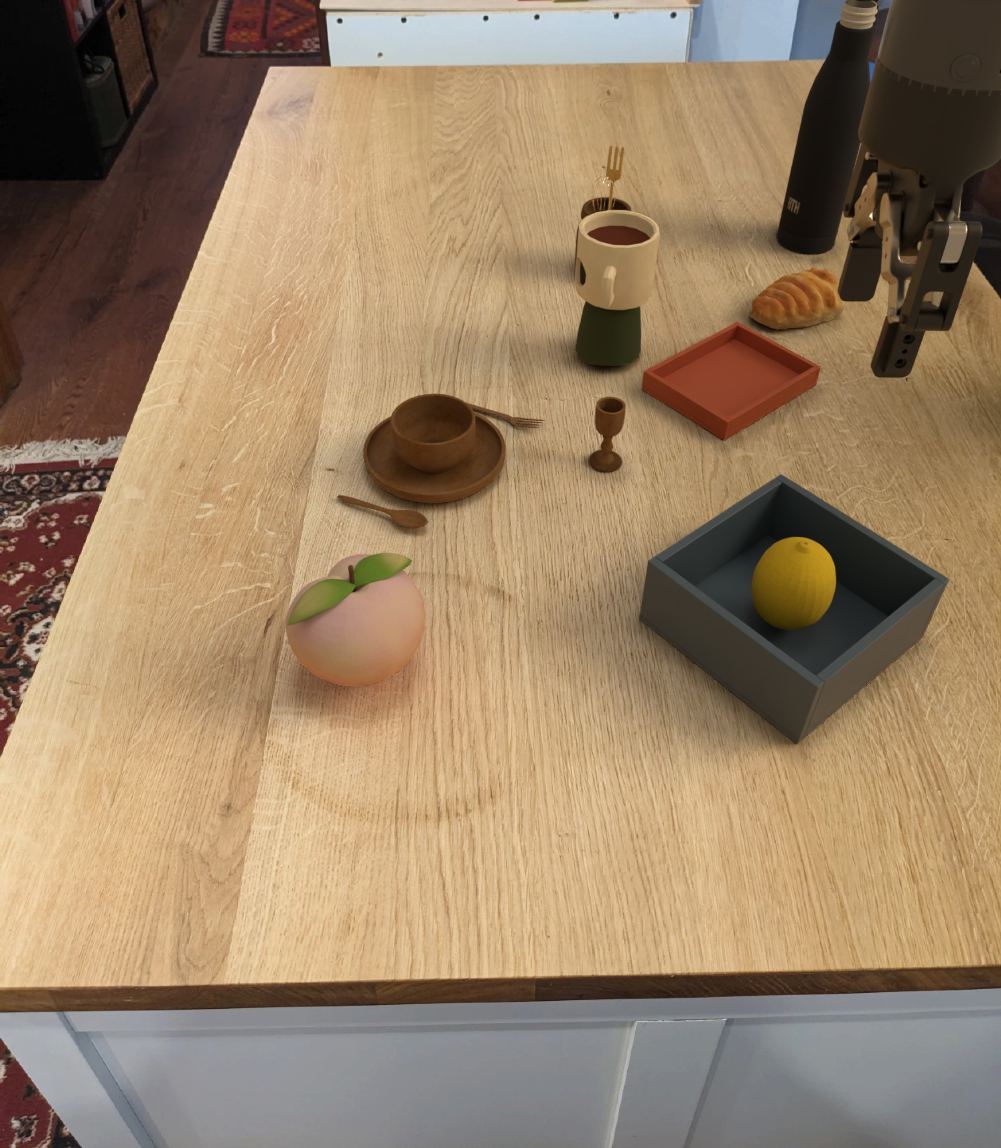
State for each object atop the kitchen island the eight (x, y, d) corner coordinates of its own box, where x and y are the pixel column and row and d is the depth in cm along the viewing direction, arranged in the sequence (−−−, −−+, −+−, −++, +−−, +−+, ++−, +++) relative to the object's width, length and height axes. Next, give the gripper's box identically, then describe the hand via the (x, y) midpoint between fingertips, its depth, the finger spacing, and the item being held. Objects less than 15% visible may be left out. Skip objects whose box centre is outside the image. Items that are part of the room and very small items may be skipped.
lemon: (814, 661, 71) (843, 581, 65) (735, 640, 72) (756, 560, 66) (825, 606, 74) (853, 526, 69) (749, 587, 76) (771, 507, 70)
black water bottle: (839, 233, 115) (919, -72, 94) (828, 259, 111) (908, -54, 89) (783, 222, 117) (848, -80, 95) (770, 247, 113) (835, -63, 91)
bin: (765, 531, 81) (780, 473, 76) (923, 636, 73) (950, 578, 69) (638, 618, 74) (647, 560, 70) (796, 744, 66) (818, 687, 62)
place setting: (428, 389, 94) (425, 334, 90) (629, 454, 87) (636, 397, 83) (319, 501, 83) (310, 444, 79) (539, 583, 76) (542, 526, 72)
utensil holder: (568, 280, 108) (574, 168, 99) (581, 251, 112) (588, 142, 103) (623, 288, 107) (634, 176, 98) (634, 259, 111) (646, 149, 102)
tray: (733, 339, 100) (737, 321, 98) (816, 384, 95) (821, 366, 93) (641, 389, 94) (643, 370, 93) (723, 440, 89) (727, 422, 87)
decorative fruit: (360, 744, 66) (344, 644, 59) (277, 679, 70) (252, 578, 63) (457, 660, 71) (453, 559, 64) (375, 603, 75) (362, 502, 68)
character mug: (581, 320, 102) (589, 195, 93) (651, 330, 101) (667, 204, 92) (559, 381, 95) (567, 252, 85) (635, 392, 94) (651, 263, 84)
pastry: (777, 343, 99) (785, 309, 97) (732, 312, 103) (738, 278, 101) (847, 316, 103) (856, 282, 100) (800, 287, 107) (808, 254, 104)
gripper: (1087, 112, 46) (967, 404, 58) (984, 10, 56) (899, 276, 68) (922, 111, 46) (835, 403, 58) (848, 9, 56) (787, 275, 68)
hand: (870, 334), depth 63 cm, fingers open, 8 cm apart
